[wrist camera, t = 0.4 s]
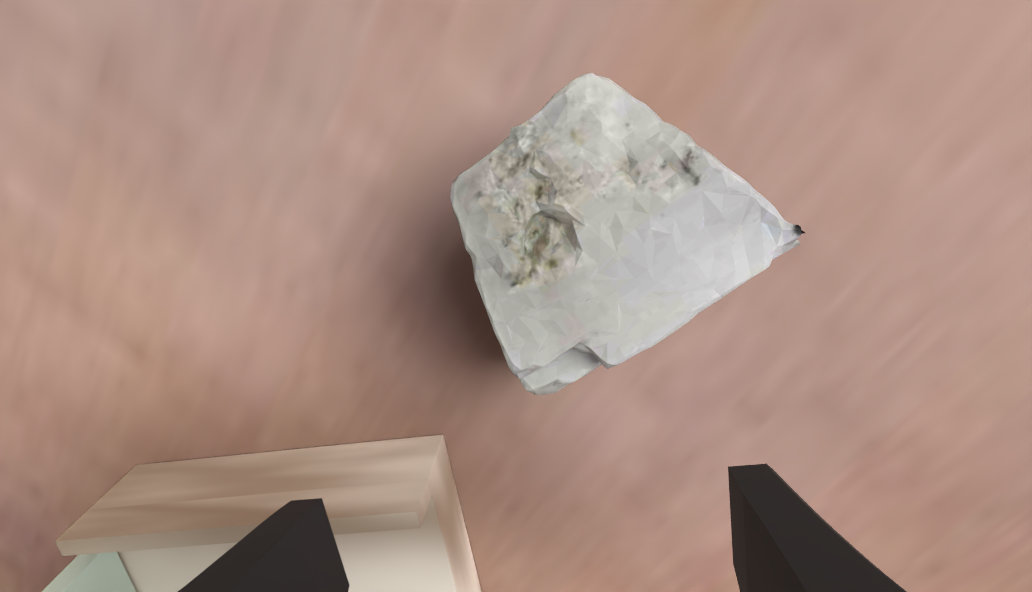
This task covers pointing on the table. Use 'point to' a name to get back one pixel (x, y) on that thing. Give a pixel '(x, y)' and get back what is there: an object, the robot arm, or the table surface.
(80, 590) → the panel
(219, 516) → the cart bed
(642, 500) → the table surface
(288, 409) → the table surface
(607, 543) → the table surface
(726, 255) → the mineral specimen
